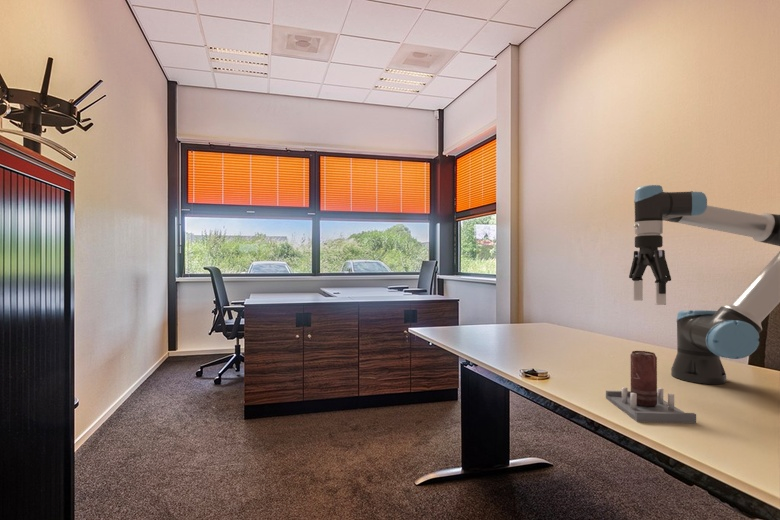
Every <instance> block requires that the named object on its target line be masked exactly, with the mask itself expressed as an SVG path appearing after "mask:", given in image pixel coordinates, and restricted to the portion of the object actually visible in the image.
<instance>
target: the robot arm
mask: <svg viewBox="0 0 780 520" xmlns="http://www.w3.org/2000/svg"><path fill="white" fill-rule="evenodd" d="M633 203H634V225H633V228H634V234H635V237H634V247H635V248H637V249H639V250H634V251H633V258H632V262H631V267H630V271H629V275H628V278H629V279H631V280H632V301H641V302H642V301H643V297H644V296H643V295H644V294H643V291H644V290H643V288H644V287H643V286H644V285H643V284H644V281H643V280H644V279H643V276H644V274H645V271H646V269H647V267H650V270H651V272H652V274H653V276H654V278H655V281H654V301H655V302H654V304H655V305H656V306H662V305H663V306H665V305H667V283H668V282H671V281H672V276H671V273H670V269H669V266H668V263H667V259H666V251H665V249H659V248H663V246H664V245H663V243H664V242H663V236H662V234H663V226H664V224H663V223H664V222H663V221H666V222H670V223H677V224H682V225H687V226H691V227H692V226H693V227H698V228H702V229H706V230H707V229H708V230H713V231H719V232H724V233H727V234H734V235H739V236H744V237H749V238H752V240H754V241H755V242H758V243H759V242H760V243H764V244H768V245H773V246H777V247H780V214H777V213H775V214H774V213H768V212H765V213H762V214H756V213H751V212H745V211H741V210H740V211H739V210H735V209H730V208H729V209H728V208H723V207H718V206H713V205H708V198H707V196H706V194H705V193H704V192H702V191H693V190H691V191H671V192H670V191H669V192H668V191H664V189H663V186H661V185H659V184H650V185H642V186H639V187H637V188H636V189H635V191H634V201H633ZM779 304H780V251H778V253H776V254H775V256H774V257H773V258H772V259H771V260H770V261H769V263H767V265H765V266H764V268H763V269H762V270H761V271H760V272H759V273H758V274H757V275H756V276H755V278H753V280H752V281H751V282H750V283H749V284H748V285H747V286H746V288H745V289H743V291H742V292H741V293H740V294H739V295H738V296H737V297H736V299H734V301H732V303H731V304H729V305H728V304H727V305H721V306H720V307H719V308H718V309H717V310H707V309H706V310H705V309H704V310H703V309H701V310H699V309H697V310H696V309H695V310H693V309H692V310H689V309H688V310H687V309H686V310H680V311H678V313H677V316H676V332H677V333H676V337H677V338H676V340H677V341H676V344H677V345H676V347H677V348H676V349H677V351H676V355H675V358H674V360H673V363H672V366H671V368H670V369H671V370H670V371H671V372H670V374H671V376H672V377H674V378H675V379H678V380H682V381H686V382H691V383H696V384H705V385H706V384H707V385H722V384H723V385H724V384H726V383H727V374H726V371H725V368H724V365H723V363H722V361H721V358H724V359H730V360H739V359H744V358H747V357H749V356H751V355H752V354H753V353H755V351H757V349H758V348H759V346H760V341H759V339H760V333H761V332H763V327H762V322H763V321H764V320H765V318H766V317H768V315H769V314H771V312H772V311H773V310H774V309H775V308H776V307H777V306H778V305H779ZM720 357H721V358H720Z"/></svg>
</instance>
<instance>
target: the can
mask: <svg viewBox="0 0 780 520" xmlns="http://www.w3.org/2000/svg"><path fill="white" fill-rule="evenodd" d="M657 360H658V357H657V356H656V353H655V352H651V351H646V350H633V351H631V353H630V391H631V393H636V394H637V406H642V407H655V406H656V405H657V388H658V361H657Z"/></svg>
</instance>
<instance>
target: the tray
mask: <svg viewBox="0 0 780 520" xmlns="http://www.w3.org/2000/svg"><path fill="white" fill-rule="evenodd" d="M605 399H606V400H608V401H609V402H610V403H612V404H613V405H614V406H616V407H617V408H618V409H620V410H621V411H622V412H623V413H624V414H626V415H628V416H629V417H630V418H631V419H632V420H634V421H635V422H637V423H640V422H641V423H673V424H674V423H675V424H677V423H678V424H697V413H695V412H684V411H683V410H681V409H680V408H678V407H676V406H675V394H673V393H667V401H666V400H664V388H662V387H657V405H656V406H655V407H642V406H637V394H636V393H631V390H628V387H624V386H623V387H621V390H605Z"/></svg>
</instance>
